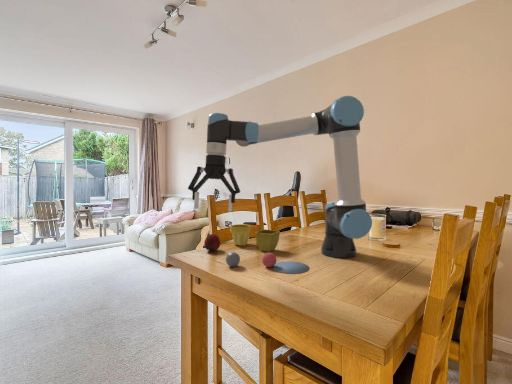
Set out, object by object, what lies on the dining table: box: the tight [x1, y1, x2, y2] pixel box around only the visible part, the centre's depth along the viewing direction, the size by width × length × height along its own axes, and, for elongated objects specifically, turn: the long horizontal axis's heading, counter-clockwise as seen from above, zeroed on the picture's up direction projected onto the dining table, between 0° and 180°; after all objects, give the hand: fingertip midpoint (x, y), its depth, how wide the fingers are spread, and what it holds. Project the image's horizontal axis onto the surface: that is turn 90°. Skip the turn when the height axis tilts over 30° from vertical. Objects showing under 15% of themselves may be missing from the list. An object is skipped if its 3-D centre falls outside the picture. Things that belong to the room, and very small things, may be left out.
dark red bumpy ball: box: [203, 233, 221, 252], centre depth 125 cm, size 7×8×8 cm
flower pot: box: [254, 229, 280, 253], centre depth 126 cm, size 9×9×9 cm
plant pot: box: [229, 223, 251, 247], centre depth 137 cm, size 10×10×10 cm
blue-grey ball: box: [225, 251, 241, 268], centre depth 102 cm, size 6×6×6 cm
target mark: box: [271, 260, 310, 275], centre depth 101 cm, size 14×14×1 cm
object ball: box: [261, 252, 277, 268], centre depth 102 cm, size 6×6×6 cm
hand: (212, 210), depth 103 cm, fingers open, 13 cm apart
